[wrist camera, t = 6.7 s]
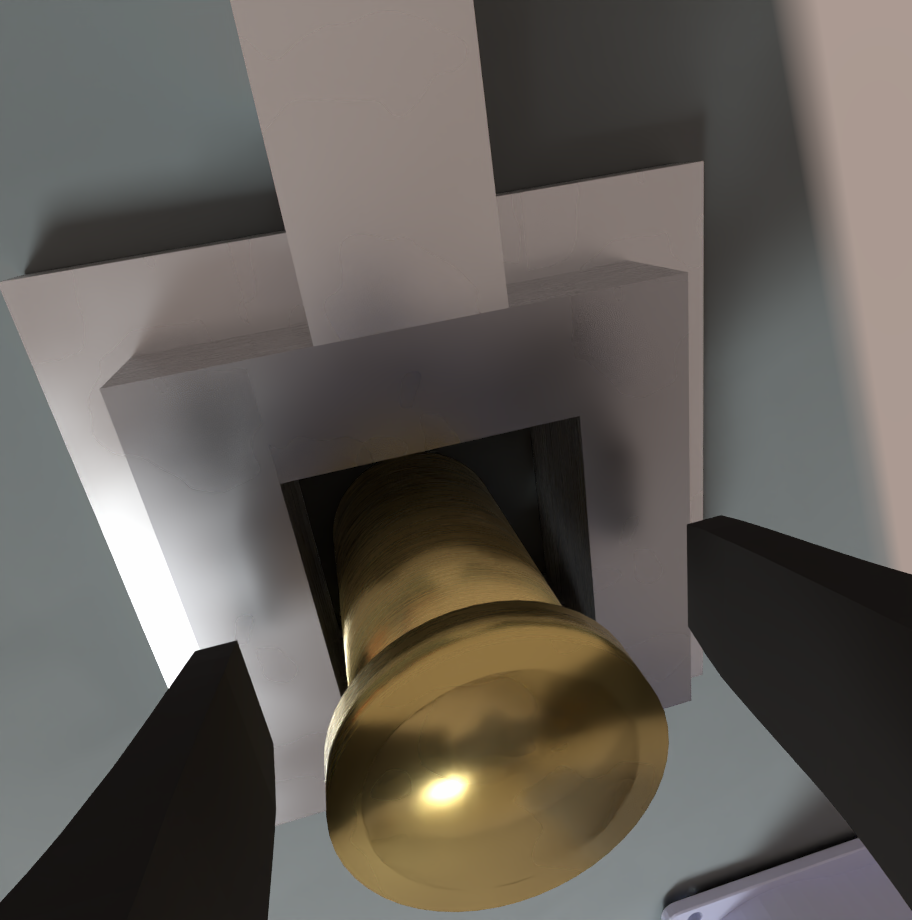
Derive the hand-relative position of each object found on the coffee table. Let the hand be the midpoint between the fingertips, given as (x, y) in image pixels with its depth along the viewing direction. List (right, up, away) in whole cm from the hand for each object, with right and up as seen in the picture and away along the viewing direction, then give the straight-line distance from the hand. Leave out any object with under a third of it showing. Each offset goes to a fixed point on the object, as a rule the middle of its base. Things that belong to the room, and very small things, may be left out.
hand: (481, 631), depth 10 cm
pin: (-1, +1, +4) cm, 5 cm away
